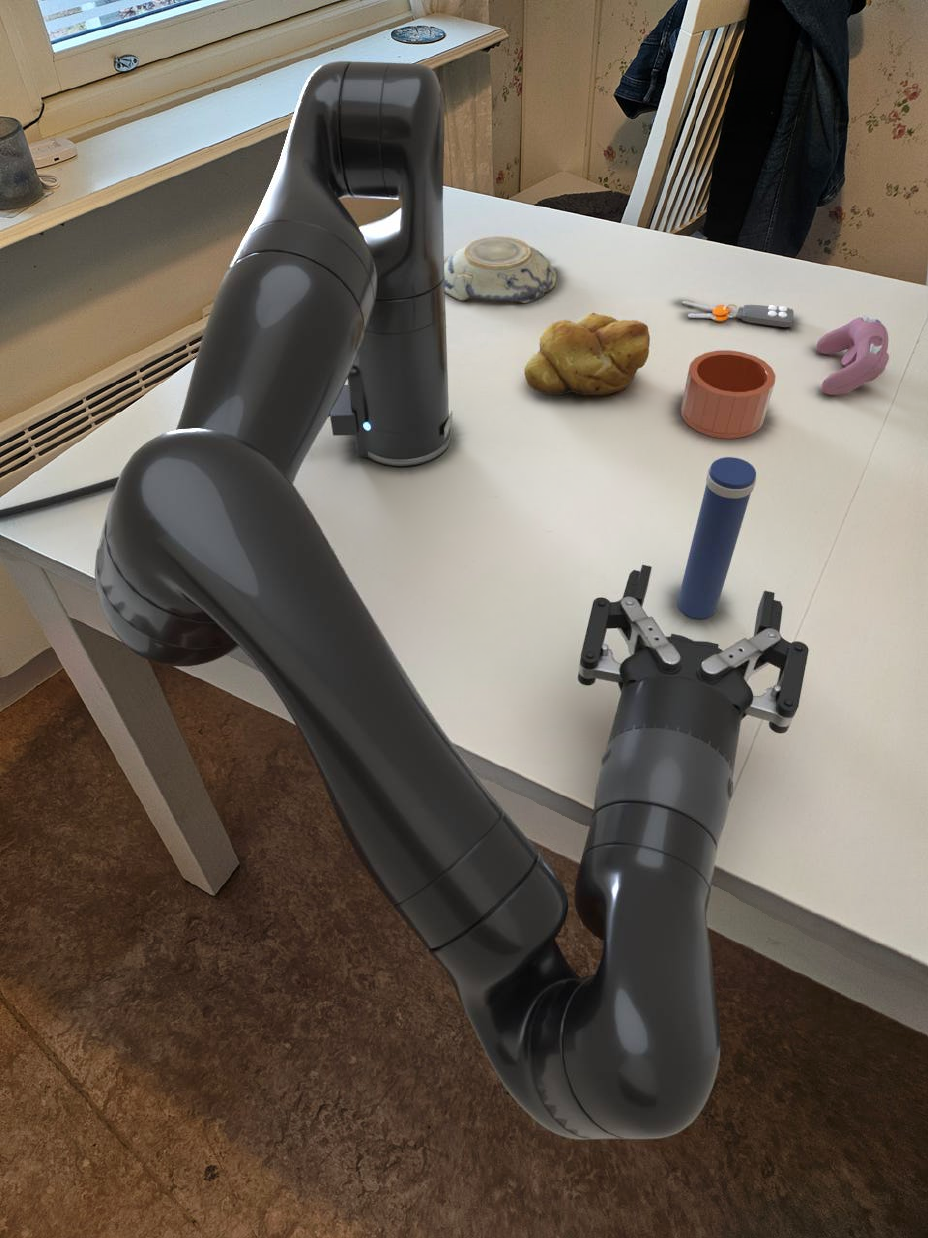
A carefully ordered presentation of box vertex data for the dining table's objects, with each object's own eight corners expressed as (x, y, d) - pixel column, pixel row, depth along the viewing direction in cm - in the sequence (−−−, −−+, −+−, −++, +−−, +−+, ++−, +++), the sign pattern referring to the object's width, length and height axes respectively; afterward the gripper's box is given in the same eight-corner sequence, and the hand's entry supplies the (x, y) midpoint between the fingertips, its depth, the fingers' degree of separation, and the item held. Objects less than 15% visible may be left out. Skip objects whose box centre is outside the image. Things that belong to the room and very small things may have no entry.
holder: (689, 439, 88) (698, 397, 84) (674, 393, 93) (682, 351, 90) (772, 437, 88) (785, 395, 84) (752, 391, 93) (763, 349, 90)
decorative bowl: (414, 278, 112) (495, 319, 104) (413, 249, 109) (496, 289, 101) (498, 243, 119) (580, 279, 111) (499, 215, 116) (582, 250, 108)
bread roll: (529, 410, 91) (533, 341, 85) (515, 361, 98) (517, 293, 92) (649, 400, 92) (660, 331, 86) (626, 352, 99) (636, 285, 93)
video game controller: (851, 412, 93) (903, 363, 88) (817, 392, 92) (867, 341, 87) (843, 363, 99) (891, 315, 94) (811, 344, 99) (858, 293, 93)
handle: (680, 620, 71) (714, 486, 61) (672, 590, 73) (704, 456, 63) (721, 619, 71) (763, 485, 61) (713, 590, 73) (751, 455, 63)
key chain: (791, 315, 104) (794, 303, 103) (791, 330, 102) (794, 319, 100) (681, 303, 106) (683, 291, 105) (679, 318, 104) (681, 306, 103)
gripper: (546, 773, 56) (601, 600, 66) (773, 836, 53) (794, 643, 63) (554, 703, 51) (613, 526, 61) (807, 769, 47) (824, 570, 58)
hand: (705, 586), depth 62 cm, fingers open, 8 cm apart
